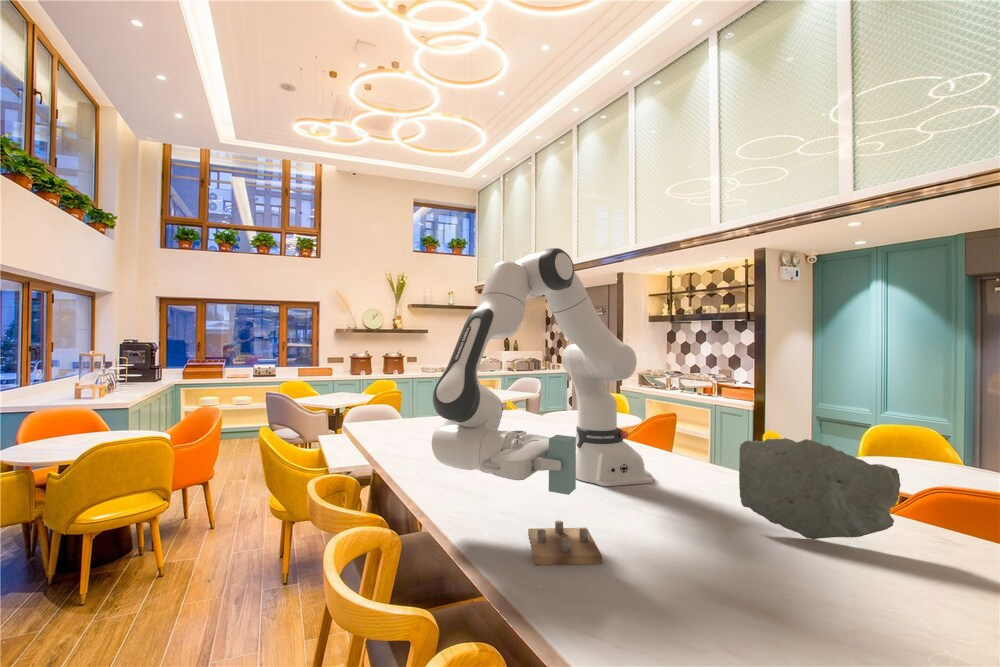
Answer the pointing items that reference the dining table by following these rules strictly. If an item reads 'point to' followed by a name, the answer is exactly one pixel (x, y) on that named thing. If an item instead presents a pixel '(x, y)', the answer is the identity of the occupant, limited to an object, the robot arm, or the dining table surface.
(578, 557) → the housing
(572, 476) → the block
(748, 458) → the rock
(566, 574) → the dining table surface
